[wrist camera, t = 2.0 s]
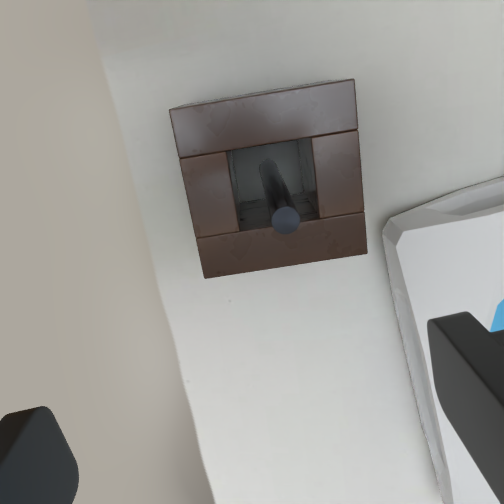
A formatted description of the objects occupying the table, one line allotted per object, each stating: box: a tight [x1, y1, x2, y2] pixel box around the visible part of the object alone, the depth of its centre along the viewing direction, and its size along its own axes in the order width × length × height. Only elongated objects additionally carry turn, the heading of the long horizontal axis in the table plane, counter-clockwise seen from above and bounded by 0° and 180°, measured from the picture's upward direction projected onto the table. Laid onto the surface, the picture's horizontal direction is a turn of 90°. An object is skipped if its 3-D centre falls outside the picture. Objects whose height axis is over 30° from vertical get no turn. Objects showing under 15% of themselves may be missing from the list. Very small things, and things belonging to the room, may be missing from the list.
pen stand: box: [169, 79, 367, 279], centre depth 29 cm, size 10×10×7 cm
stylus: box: [259, 159, 300, 234], centre depth 25 cm, size 1×1×14 cm
